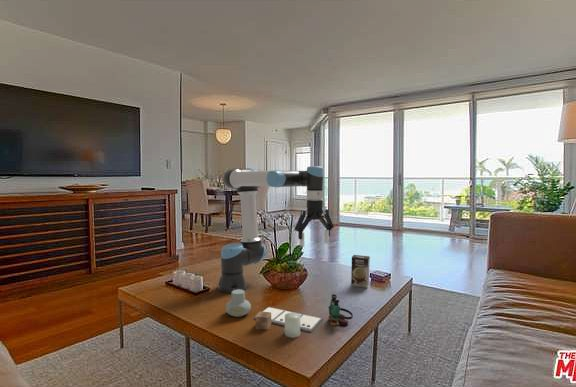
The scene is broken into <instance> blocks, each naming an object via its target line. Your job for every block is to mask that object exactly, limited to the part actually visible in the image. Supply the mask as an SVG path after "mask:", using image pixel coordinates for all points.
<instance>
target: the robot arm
mask: <svg viewBox="0 0 576 387" xmlns="http://www.w3.org/2000/svg"><path fill="white" fill-rule="evenodd" d="M222 182H223V184H224V185H225V187H226V188H228V189H230V190H237V192H236V193H237V194H239V196H240V197H239V198H240V208H241V210H240V211H241V212H240V213H241V226H242V238H241V240H240V243H239V242H232V243H228V244H225V245H223V246H222V247H221V251H220V267H221V269H220V270H221V274H220V278H219V281H218V285H217V290H218V291H219V292H221V293H225V294H231V292H232V291H233V290H238V289H240V290H244V291H245V290H247V288H248V287H247V286H248V284H247V281H246V278H245V274H244V267H246V266H247V267H248V266H250V265H254V264H256V265H257V264H258V263H261V262H262V261H263V260H264V259H265V258H266V255H267V247H266V246H265V243H264V242H263V241H262V239H261V237H259V225H258V214H257V198H256V196H257V194H258V192H259V188H260V187H269V188H270V187H271V188H282V187H283V188H287V187H288V188H289V187H306V199H307V200H306V208H307V209H306V210H303V209H302V210H300V215H299V218H298V220H297V221H296V222H297V223H296V225H295V227H294V231H295V232H298V235H297V237H298V240H299V246H300V247H302V248H303V247H305V232H304V230H305V229H306V227H307V226H308V225H309V223H310V222H311V221H315V220H319V221H320V222H321V225H322V226H323V227H324V231H323V232H324V233H323V237H324V238H323V240H324V242H323V243H324V244H325V245H326V244H327V245H328V244H330V242H329V241H330V238H329V237H330V236H331V230H332V229H334V227H335V225H334V224H333V221H332V219H331V216H330V214H329V209H325V208H323V207H324V200H323V199H324V168H323V166H318V165H316V166H315V165H313V166H311V165H310V166H307V168H306V170H280V169H276V170H275V169H274V170H256V169H254V168H247V167H245V168H241V167H240V168H236V167H232V168H229V169H227V170H226V171H225V172H224V173H223V176H222Z"/></svg>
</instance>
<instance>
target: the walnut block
mask: <svg viewBox="0 0 576 387" xmlns="http://www.w3.org/2000/svg"><path fill="white" fill-rule="evenodd" d="M255 316H256V319H255V330H264V331H269V329H270V327H271V326H272V323H271V312H262V311H261V310H260V311H258V313H257V314H256V315H255Z"/></svg>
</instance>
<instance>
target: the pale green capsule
mask: <svg viewBox="0 0 576 387" xmlns="http://www.w3.org/2000/svg"><path fill="white" fill-rule="evenodd" d="M298 313H299V312H296V313H287V314H285V326H284V335H285V336H286V337H288V338H293V339H294V338H298V337H299V336H301V330H300V314H301V313H300V314H298Z"/></svg>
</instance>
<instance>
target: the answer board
mask: <svg viewBox="0 0 576 387" xmlns="http://www.w3.org/2000/svg"><path fill="white" fill-rule="evenodd" d="M261 312H271V324H274V325H278V326H282V327H285V314H287V313H298V314H300V331H303V332H308V333H312V332H313V331H314V330H315V329H316V328H317V326H319V324H321V322H322V321H323V317H318V316H313V315H309V314H305V313H301V312H294V311H289V310H286V309H281V308H277V307H272V306H268V307H267V308H265V309H263V310H262V311H261ZM253 319H254V320H256V315H255V316H254V318H253Z"/></svg>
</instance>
